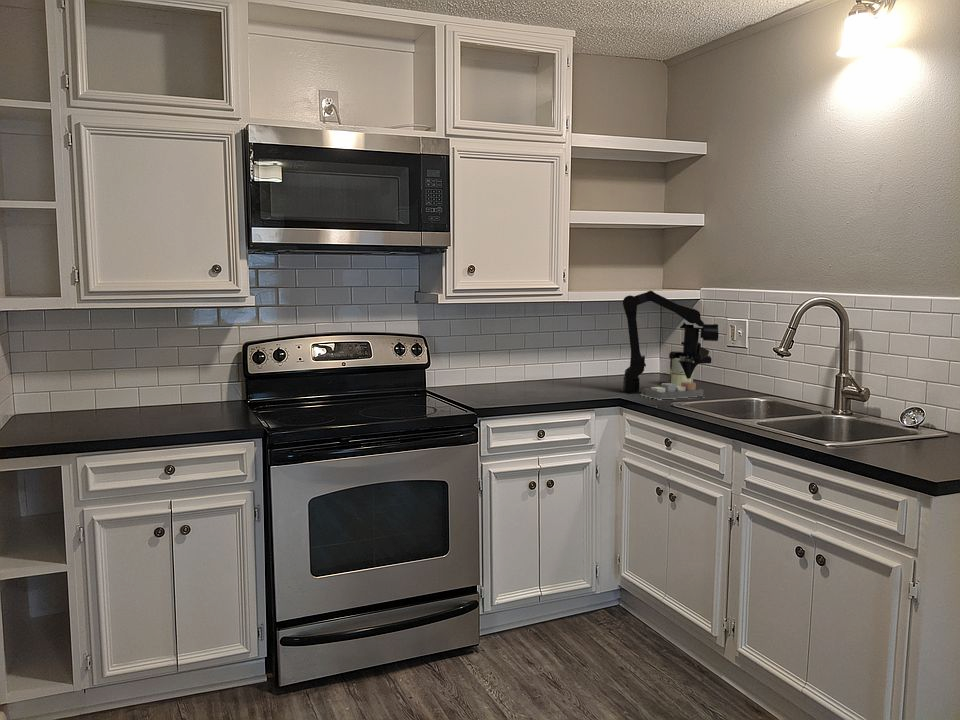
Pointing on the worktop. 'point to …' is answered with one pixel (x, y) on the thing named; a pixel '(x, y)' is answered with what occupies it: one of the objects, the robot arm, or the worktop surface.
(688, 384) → the key
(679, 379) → the coffee can
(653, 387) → the key
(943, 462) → the worktop surface
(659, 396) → the keypad board
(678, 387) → the key
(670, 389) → the key
